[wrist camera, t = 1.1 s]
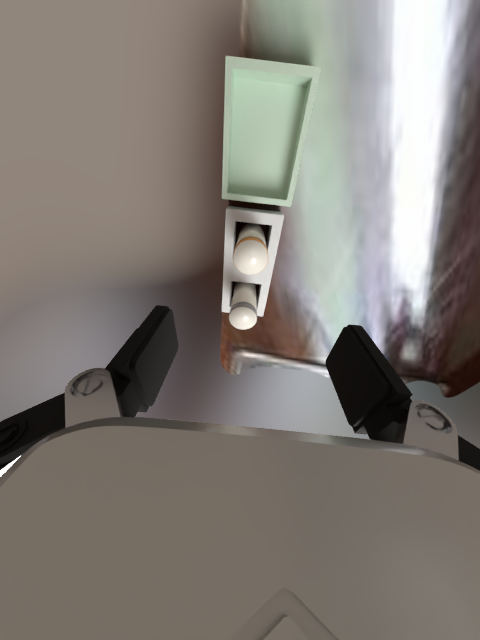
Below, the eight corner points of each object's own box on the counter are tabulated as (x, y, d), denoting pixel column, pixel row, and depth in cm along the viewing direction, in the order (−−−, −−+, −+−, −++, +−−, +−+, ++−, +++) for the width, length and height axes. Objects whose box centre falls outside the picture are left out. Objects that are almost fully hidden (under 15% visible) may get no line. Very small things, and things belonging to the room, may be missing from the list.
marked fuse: (240, 221, 25) (234, 237, 18) (266, 224, 25) (271, 241, 18) (237, 248, 28) (231, 272, 20) (262, 251, 28) (264, 276, 20)
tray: (228, 69, 18) (225, 55, 16) (314, 79, 18) (321, 67, 16) (224, 197, 24) (221, 198, 22) (287, 204, 24) (290, 206, 22)
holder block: (228, 205, 24) (225, 208, 22) (281, 212, 24) (284, 215, 22) (224, 302, 33) (221, 311, 31) (262, 306, 34) (263, 316, 31)
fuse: (235, 275, 30) (229, 305, 23) (258, 278, 30) (259, 308, 23) (233, 295, 32) (227, 328, 25) (254, 297, 33) (254, 331, 25)
